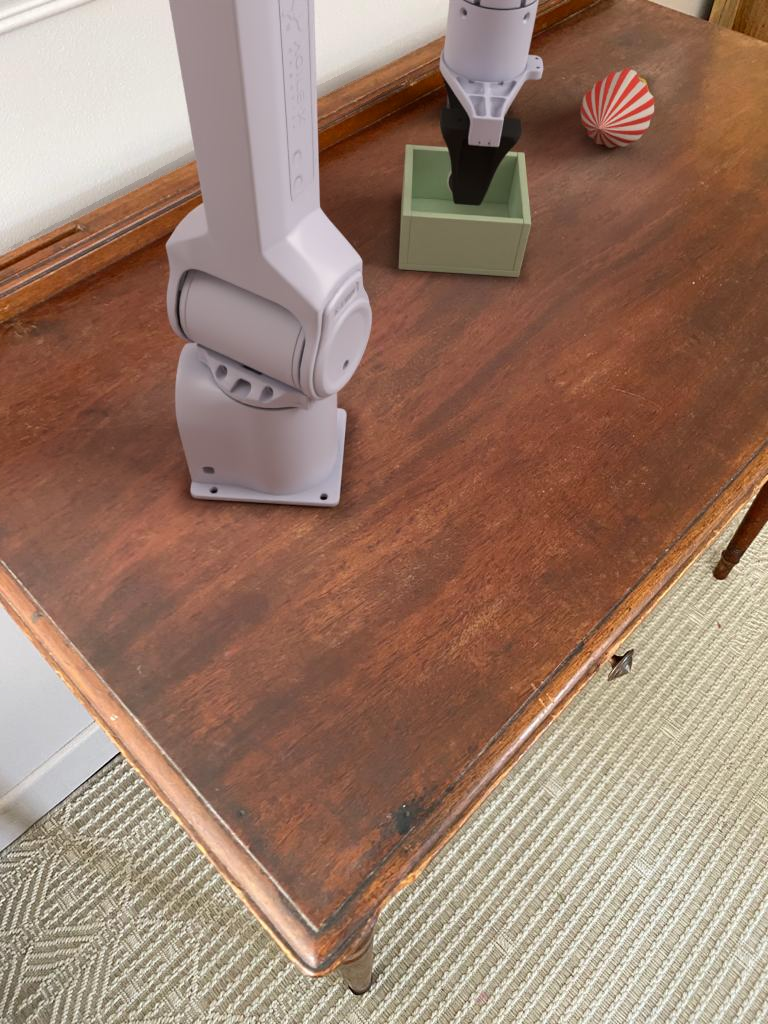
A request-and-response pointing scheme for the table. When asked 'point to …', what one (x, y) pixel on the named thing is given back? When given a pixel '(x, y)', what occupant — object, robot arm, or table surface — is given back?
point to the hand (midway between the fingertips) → (466, 179)
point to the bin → (462, 218)
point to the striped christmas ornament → (617, 109)
